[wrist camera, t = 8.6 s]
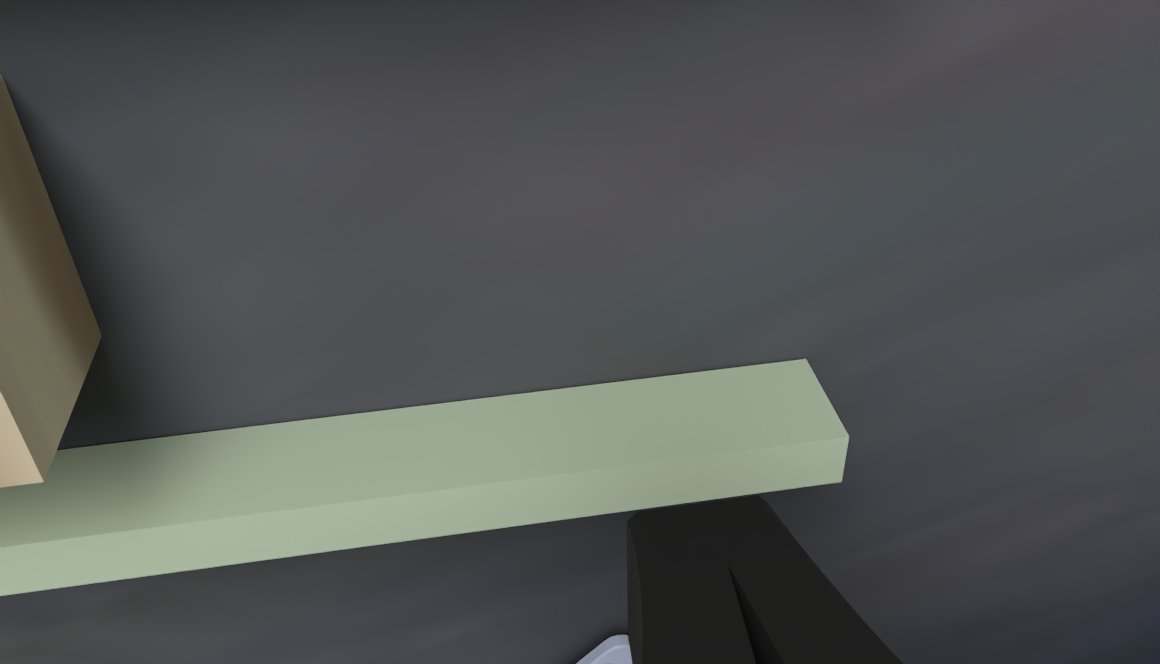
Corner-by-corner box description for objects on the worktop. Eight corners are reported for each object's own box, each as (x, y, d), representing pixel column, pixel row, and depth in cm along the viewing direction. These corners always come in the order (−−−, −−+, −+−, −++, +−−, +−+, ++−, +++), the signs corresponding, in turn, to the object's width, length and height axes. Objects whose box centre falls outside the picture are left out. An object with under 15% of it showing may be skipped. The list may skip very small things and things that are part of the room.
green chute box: (880, -249, 15) (957, -227, 13) (801, 402, 22) (841, 482, 20) (-728, -156, 13) (-941, -112, 11) (-228, 532, 20) (-298, 636, 18)
